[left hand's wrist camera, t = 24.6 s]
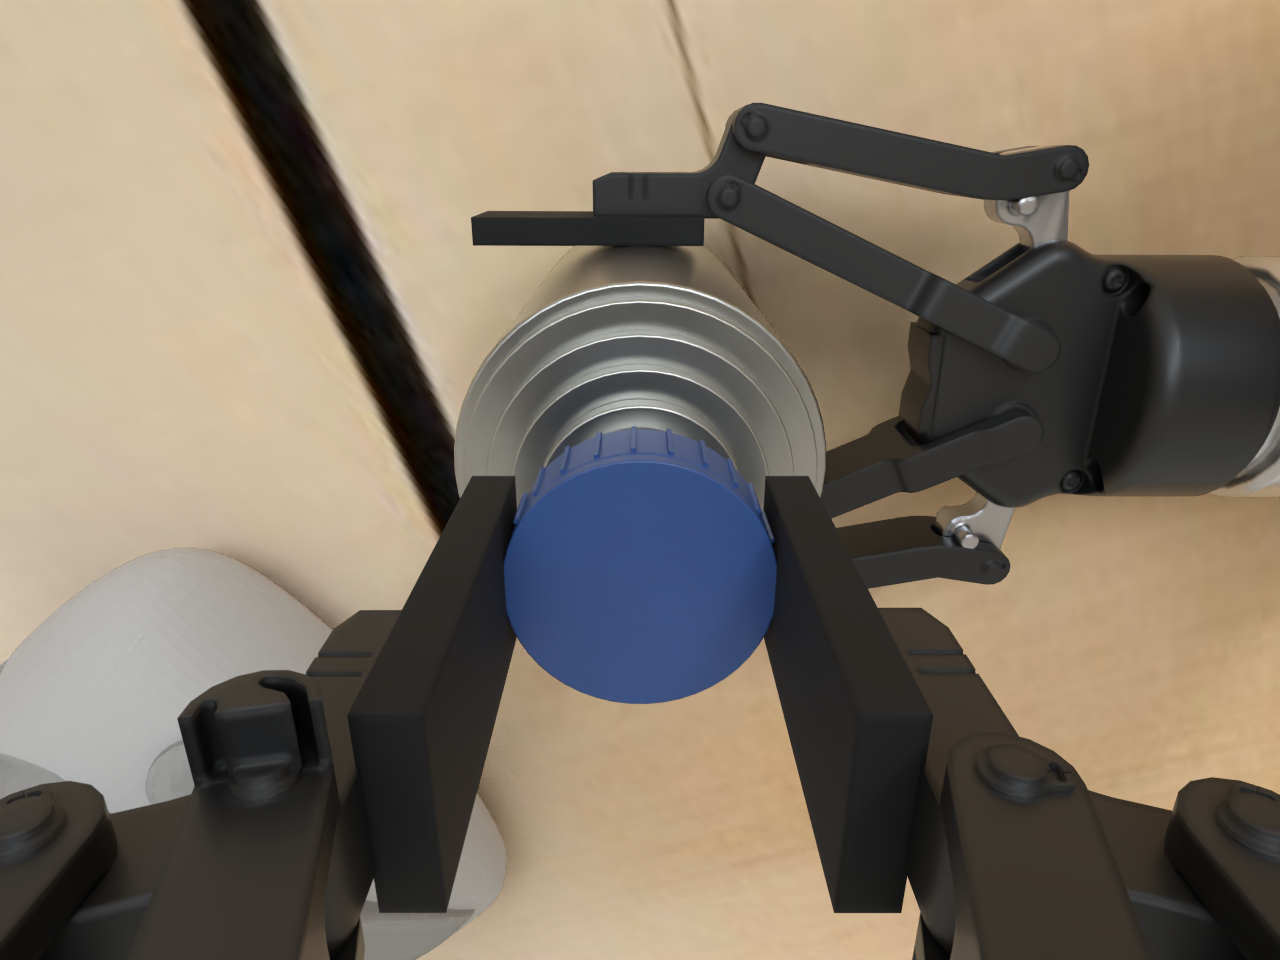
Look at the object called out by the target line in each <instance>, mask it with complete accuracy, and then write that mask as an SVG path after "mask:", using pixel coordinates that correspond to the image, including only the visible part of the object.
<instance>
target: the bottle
mask: <svg viewBox="0 0 1280 960" xmlns="http://www.w3.org/2000/svg"><path fill="white" fill-rule="evenodd" d="M631 426H636V429H651V430H658V431H665V432H666V430H667V428H668V429H672V433H675V434H678V435H682V436H685V437H688V438H690V439H692V440H695V441H697V442H699V441H700V439H701V440H703V441H705V446H707V447H709V448H710V449H712V450H714V451H715V452H717V453H718V454H719V455H721V456H722V457H723V458H724V459H726V460H727V459H728V458H730V459H731V460H732V461H733V465H734V468H735V469H736V470H737V471H738V472H739V473H740V474H741V475H742V477H743V478H744V479H745V481H746V482H747V483H748V484H749V483H750V482H751V483H752V485H753V487H754V490H755V493H756V496H757V499H758V502H759V505H760V507H761V510H762V511H763V507H764V491H765V476H809V478H810V480H811V482H812V483H813V485H814V487H815V489H816V491H817V493H818V495H819V497H821V493H822V489H823V483H824V476H825V470H826V442H825V434H824V426H823V421H822V417H821V414H820V410H819V406H818V403H817V399H816V397H815V395H814V393H813V390H812V388H811V386H810V383H809V381H808V379H807V377H806V375H805V374H804V372H803V371H802V369H801V367H800V366H799V364H798V362H797V361H796V359H795V358H794V356H793V355H792V354H791V352H790V351H789V350H788V348H787V347H786V346H785V344H784V343H783V342H782V341H781V339H780V338H779V337H778V335H777V334H776V333H775V331H774V330H773V329H772V327H771V326H770V325H769V323H768V322H767V321H766V319H765V318H764V317H763V316H762V314H761V313H760V312H759V310H758V309H757V308H756V306H755V305H754V304H753V302H752V301H751V300H750V298H749V297H748V296H747V295H746V293H745V292H744V291H743V289H742V288H741V287H740V285H739V284H738V283H737V281H736V280H735V279H734V277H733V276H732V275H731V273H730V272H729V271H728V270H727V268H726V267H725V266H724V265H723V263H722V262H721V261H720V260H719V259H718V257H717V256H716V255H715V254H714V253H712V252H711V251H710V250H709V249H708V248H707V247H706V246H704V245H703V246H574V247H573V248H572V249H571V250H570V251H569V252H568V253H567V254H566V255H564V256H563V257H562V258H561V260H560V261H559V262H558V263H557V265H556V266H555V267H554V268H553V270H552V271H551V272H550V274H549V275H548V276H547V278H546V279H545V280H544V282H543V283H542V284H541V286H540V287H539V288H538V290H537V291H536V292H535V294H534V295H533V296H532V298H531V299H530V300H529V301H528V303H527V304H526V305H525V307H524V308H523V309H522V311H521V312H520V313H519V315H518V316H517V317H516V319H515V320H514V321H513V323H512V324H511V325H510V327H509V328H508V329H507V331H506V332H505V333H504V335H503V336H502V337H501V338H500V340H499V341H498V342H497V344H496V345H495V346H494V348H493V349H492V350H491V352H490V353H489V354H488V356H487V357H486V358H485V360H484V361H483V363H482V365H481V366H480V368H479V370H478V371H477V373H476V375H475V376H474V378H473V380H472V382H471V384H470V386H469V389H468V391H467V394H466V396H465V398H464V401H463V404H462V407H461V411H460V415H459V419H458V423H457V428H456V437H455V446H454V456H455V474H456V480H457V486H458V492H459V496H460V498H461V496H462V494H463V492H464V490H465V488H466V486H467V485H468V483H469V481H470V479H471V477H472V476H515V482H516V498H517V509H518V506H519V503H520V500H521V497H522V495H523V493H524V492H525V493H528V491H529V490H530V488H531V486H532V484H533V483H534V481H535V480H536V479H537V477H538V474H539V470H540V468H541V467H542V466H543V467H545V468H546V467H547V466H548V465H549V464H550V463H552V462H553V461H554V460H555V459H556V458H557V457H559V456H560V455H561V454H563V453H564V451H565V447H567V446H570V447H571V448H572V447H574V446H576V445H578V444H579V443H581V442H583V441H585V440H588V439H591V438H593V437H596V434H597V432H602V434H607V433H611V432H615V431H622V430H630V429H631Z"/></svg>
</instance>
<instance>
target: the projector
mask: <svg viewBox="0 0 1280 960" xmlns="http://www.w3.org/2000/svg"><path fill="white" fill-rule="evenodd" d="M332 631H333V630H332V629H331V628H330V627H328V626H327V625H326V624H325V623H324V622H323V621H321V620H320V619H319V618H318V617H317V616H316V615H314V614H313V613H312V612H311V611H310V610H309V609H307V608H306V607H305V606H304V605H302V604H301V603H300V602H299V601H297V600H296V599H295V598H293V597H292V596H291V595H290V594H288V593H287V592H286V591H285V590H283V589H282V588H281V587H279V586H278V585H276V584H275V583H273V582H272V581H271V580H269V579H268V578H266V577H265V576H263V575H262V574H260V573H259V572H257V571H255V570H254V569H252V568H250V567H248V566H247V565H245V564H243V563H241V562H240V561H238V560H235V559H233V558H231V557H228V556H226V555H223V554H220V553H217V552H213V551H209V550H203V549H197V548H176V549H168V550H161V551H156V552H153V553H149V554H146V555H143V556H141V557H138V558H136V559H134V560H132V561H129V562H127V563H125V564H123V565H121V566H120V567H118V568H116V569H114V570H112V571H111V572H109V573H107V574H106V575H104V576H102V577H101V578H99V579H97V580H96V581H94V582H93V583H91V584H90V585H89V586H87V587H86V588H84V589H83V590H81V591H80V592H79V593H77V594H76V595H75V596H74V597H72V598H71V599H70V600H69V601H67V602H66V603H65V604H64V605H62V606H61V607H60V608H59V609H57V610H56V611H55V612H54V613H53V614H52V615H51V616H50V617H49V618H47V619H46V620H45V621H44V622H43V623H42V624H41V625H40V626H39V627H38V628H36V629H35V630H34V631H33V632H32V633H31V634H30V635H29V636H28V637H27V638H26V639H25V640H24V641H23V642H22V643H21V644H20V645H19V646H18V647H17V648H16V650H15V651H14V652H13V654H12V655H11V656H10V658H9V659H8V660H6V661H5V662H3V663H2V664H1V665H0V799H2V798H4V797H6V796H8V795H10V794H12V793H15V792H18V791H21V790H25V789H28V788H31V787H34V786H37V785H40V784H47V783H55V782H64V781H74V782H79V783H85V784H90V785H92V786H93V787H94V788H96V789H97V790H98V791H99V792H100V793H101V794H102V795H103V796H104V799H105V802H106V805H107V809H108V812H109V814H112V813H116V812H121V811H125V810H130V809H134V808H139V807H143V806H148V805H152V804H156V803H161V802H165V801H170V800H173V799H176V798H180V797H183V796H186V795H190V794H192V791H193V789H194V782H193V778H192V774H191V770H190V766H189V762H188V758H187V755H186V751H185V747H184V743H183V739H182V735H181V731H180V728H179V724H178V720H177V718H178V717H179V715H180V714H181V713H182V712H183V710H184V709H185V708H186V707H187V705H188V704H189V703H190V702H191V701H192V700H193V699H195V698H196V697H198V696H199V695H201V694H202V693H204V692H205V691H206V690H208V689H209V688H211V687H213V686H215V685H217V684H220V683H222V682H225V681H227V680H229V679H232V678H234V677H236V676H240V675H245V674H249V673H254V672H258V671H263V670H291V671H294V672H298V673H302V674H306V671H307V669H308V668H309V666H310V665H311V663H312V661H313V660H314V658H315V657H318V652H319V651H320V649H321V648H322V646H323V644H324V643H325V641H326V640H327V638H328V637H329V635H330V634H331V632H332ZM506 866H507V854H506V847H505V844H504V841H503V838H502V836H501V834H500V832H499V830H498V827H497V825H496V823H495V821H494V820H493V818H492V816H491V815H490V813H489V811H488V809H487V808H486V806H485V804H484V803H483V801H482V800H481V798H480V797H479V795H478V793H477V795H476V798H475V802H474V806H473V810H472V814H471V818H470V822H469V826H468V830H467V834H466V838H465V842H464V846H463V849H462V853H461V857H460V861H459V865H458V869H457V873H456V877H455V881H454V885H453V889H452V893H451V896H450V900H449V904H448V908H447V912H446V913H379V908H378V901H377V895H376V889H375V883H374V879H373V882H372V884H371V887H370V890H369V892H368V895H367V898H366V901H365V903H364V906H363V909H362V911H361V914H360V918H361V924H362V929H363V936H364V943H365V954H364V960H415V959H417V958H419V957H421V956H422V955H424V954H426V953H428V952H429V951H431V950H432V949H434V948H435V947H437V946H438V945H440V944H441V943H443V942H444V941H445V940H446V939H448V938H449V937H450V936H451V935H453V934H454V933H455V932H457V931H458V930H460V929H461V928H463V927H464V926H465V925H467V924H468V923H469V922H471V921H472V920H473V919H475V918H476V917H477V916H479V915H480V914H481V913H482V912H483V911H484V910H486V909H487V908H488V907H489V906H490V905H491V904H492V903H493V902H494V900H495V899H496V898H497V896H498V895H499V893H500V892H501V889H502V887H503V883H504V879H505V874H506Z"/></svg>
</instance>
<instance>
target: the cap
mask: <svg viewBox="0 0 1280 960" xmlns="http://www.w3.org/2000/svg"><path fill="white" fill-rule="evenodd" d="M513 523H514V524H515V526H514V529H513V532H512V535H511V538H510V541H509V544H508V547H507V551H506V555H505V559H504V581H505V595H506V608H507V616H508V618H509V621H510V624H511V626H512V628H513V630H514V632H515V634H516V636H517V638H518V640H519V641H520V643H521V644H522V645H523V647H524V648H525V650H526V651H527V652H528V654H529V655H530V656H531V657H532V658H533V659H534V660H535V661H536V662H537V663H538V665H539V666H541V667H542V668H543V669H544V670H545V671H547V672H548V673H549V674H550V675H551V676H553V677H555V678H556V679H558V680H559V681H561V682H562V683H564V684H565V685H567V686H569V687H571V688H573V689H575V690H577V691H579V692H582V693H585V694H587V695H590V696H593V697H596V698H600V699H604V700H608V701H613V702H620V703H629V704H650V703H661V702H667V701H672V700H677V699H681V698H684V697H687V696H690V695H694V694H696V693H699V692H701V691H703V690H705V689H707V688H710V687H712V686H713V685H715V684H717V683H718V682H720V681H722V680H723V679H725V678H726V677H728V676H729V675H730V674H731V673H733V672H734V671H735V670H737V669H738V668H739V667H740V666H741V665H742V664H743V663H744V662H745V661H746V660H747V659H748V658H749V657H750V656H751V654H752V653H753V652H754V650H755V649H756V648H757V647H758V645H759V644H760V642H761V640H762V639H763V637H764V635H765V633H766V632H767V630H768V628H769V625H770V623H771V620H772V618H773V615H774V603H775V589H776V574H777V561H776V556H775V551H774V548H773V545H772V543H774V537H773V534H772V531H771V528H770V525H769V522H768V519H767V516H766V514H765V511H762V510H761V507H760V505H759V502H758V499H757V496H756V493H755V490H754V487H753V485H752V483H751V482H750V483H749V484H748V483H747V482H746V481H745V479H744V478H743V477H742V475H741V474H740V473H739V472H738V471H737V470H736V469H735V468H734V465H733V461H732V460H731V459H730V458H728V459H727V460H726V459H724V458H723V457H722V456H721V455H719V454H718V453H717V452H715V451H714V450H712V449H710V448H709V447H707V446H705V441H703V440H701V439H700V441H699V442H697V441H695V440H692V439H690V438H688V437H685V436H682V435H678V434H675V433H672V429H668V428H667V430H666V432H665V431H658V430H651V429H636V426H631V429H630V430H622V431H615V432H611V433H607V434H602V432H597V434H596V437H593V438H591V439H588V440H585V441H583V442H581V443H579V444H578V445H576V446H574V447H572V448H571V447H570V446H567V447H565V451H564V453H563V454H561V455H560V456H559V457H557V458H556V459H555V460H554V461H553V462H552V463H550V464H549V465H548V466H547V467H546V468H545V467H543V466H542V467H541V468H540V470H539V474H538V477H537V479H536V480H535V481H534V483H533V484H532V486H531V488H530V490H529V491H528V493H525V492H524V493H523V495H522V497H521V500H520V503H519V506H518V509H517V512H516V515H515V517H514V520H513Z"/></svg>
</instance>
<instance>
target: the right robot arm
mask: <svg viewBox="0 0 1280 960" xmlns="http://www.w3.org/2000/svg"><path fill="white" fill-rule="evenodd" d="M765 156H767V157H772V158H776V159H781V160H786V161H791V162H795V163H800V164H805V165H809V166H814V167H819V168H824V169H828V170H833V171H838V172H843V173H847V174H852V175H857V176H861V177H866V178H871V179H876V180H880V181H885V182H890V183H894V184H899V185H904V186H909V187H913V188H918V189H923V190H928V191H932V192H937V193H942V194H948V195H955V196H962V197H970V198H977V199H984V208H985V212H986V214H987V216H988V217H989V218H990V219H991V220H992V221H995V222H997V223H1003V224H1008V225H1011V226H1013V227H1014V228H1015V229H1016V230H1017V232H1018V234H1019V237H1020V243H1018V244H1016V245H1015V246H1013V247H1012V248H1010V249H1009V250H1007V251H1006V252H1004V253H1003V254H1001V255H1000V256H998V257H997V258H995V259H994V260H992V261H991V262H989V263H988V264H986V265H985V266H983V267H982V268H980V269H979V270H977V271H976V272H974V273H973V274H971V275H970V276H968V277H967V278H965V279H964V280H962V281H961V282H959V283H958V284H956V285H955V284H953V283H951V282H949V281H947V280H945V279H943V278H941V277H939V276H937V275H935V274H932V273H930V272H928V271H926V270H924V269H922V268H920V267H918V266H916V265H914V264H912V263H910V262H908V261H906V260H904V259H902V258H900V257H898V256H896V255H894V254H892V253H890V252H888V251H886V250H884V249H882V248H880V247H878V246H876V245H874V244H872V243H870V242H868V241H866V240H864V239H862V238H861V237H859V236H857V235H855V234H853V233H851V232H849V231H847V230H845V229H843V228H841V227H839V226H837V225H835V224H833V223H831V222H829V221H827V220H825V219H823V218H821V217H819V216H817V215H815V214H813V213H811V212H809V211H807V210H805V209H803V208H801V207H799V206H797V205H795V204H793V203H791V202H789V201H787V200H785V199H783V198H781V197H779V196H777V195H775V194H773V193H771V192H769V191H767V190H765V189H763V188H761V187H759V186H757V185H755V181H756V179H757V176H758V174H759V171H760V169H761V166H762V164H763V161H764V159H765ZM1088 167H1089V162H1088V156H1087V155H1086V153H1085V152H1084V150H1083V149H1081V148H1079V147H1077V146H1070V145H1062V146H1027V147H1021V148H1015V149H1009V150H1003V151H997V152H986V151H981V150H977V149H972V148H967V147H963V146H958V145H953V144H949V143H944V142H940V141H935V140H930V139H926V138H921V137H916V136H912V135H907V134H903V133H898V132H893V131H889V130H884V129H880V128H875V127H870V126H866V125H861V124H856V123H852V122H847V121H843V120H838V119H833V118H829V117H824V116H819V115H815V114H810V113H806V112H801V111H796V110H792V109H787V108H783V107H778V106H773V105H769V104H764V103H752V104H749V105H746V106H744V107H742V108H740V109H738V110H736V111H734V112H733V113H732V115H731V116H730V117H729V118H728V121H727V123H726V128H725V131H724V134H723V137H722V139H721V142H720V145H719V147H718V150H717V153H716V155H715V157H714V159H713V160H712V162H711V163H710V164H709V165H708V166H707V167H705V168H704V169H702V170H700V171H697V172H611V173H609V174H607V175H604V176H602V177H599V178H597V179H595V180H593V212H575V211H487V212H484V213H482V214H479V215H476V216H474V217H471V223H472V237H473V245H520V246H703V244H704V218H720V219H722V220H724V221H727V222H729V223H731V224H733V225H735V226H737V227H739V228H741V229H743V230H745V231H747V232H749V233H751V234H753V235H755V236H757V237H759V238H761V239H763V240H765V241H767V242H769V243H771V244H773V245H775V246H777V247H779V248H782V249H784V250H786V251H788V252H790V253H792V254H794V255H796V256H798V257H800V258H802V259H804V260H806V261H808V262H810V263H812V264H814V265H816V266H818V267H820V268H822V269H824V270H826V271H828V272H830V273H832V274H834V275H837V276H839V277H841V278H843V279H845V280H847V281H849V282H851V283H853V284H855V285H857V286H859V287H861V288H863V289H865V290H867V291H869V292H871V293H873V294H875V295H877V296H879V297H881V298H883V299H885V300H887V301H889V302H892V303H894V304H896V305H898V306H900V307H902V308H904V309H906V310H908V311H910V312H912V313H913V314H915V315H917V316H919V319H918V321H917V322H911V324H910V332H909V340H908V350H909V357H910V364H911V371H910V374H909V376H908V379H907V381H906V384H905V386H904V389H903V391H902V395H901V403H900V411H899V415H900V416H897V417H895V418H892V419H890V420H888V421H885V422H883V423H880V424H878V425H876V426H875V427H874V428H872V430H871V431H870V433H869V434H867V435H866V436H864V437H861V438H859V439H856V440H854V441H851V442H849V443H847V444H844V445H842V446H839V447H837V448H834V449H832V450H830V451H827V452H826V470H825V476H824V483H823V489H822V493H821V497H820V499H821V501H822V503H823V505H824V506H825V508H826V510H827V512H828V514H829V516H830V518H834V517H836V516H839V515H841V514H844V513H846V512H849V511H851V510H854V509H856V508H859V507H861V506H864V505H867V504H869V503H872V502H874V501H877V500H879V499H882V498H884V497H887V496H889V495H892V494H894V493H897V492H908V493H913V492H919V491H922V490H925V489H927V488H930V487H932V486H935V485H937V484H940V483H942V482H945V481H947V480H950V479H952V478H955V477H958V478H959V479H961V480H962V481H963V482H965V483H966V484H967V485H969V486H970V487H971V488H973V489H974V490H975V491H977V492H976V494H975V496H974V497H973V498H972V499H971V500H970V501H969V502H967V503H966V504H963V505H959V506H943V507H941V508H940V509H939V510H938V512H937V517H932V516H909V517H900V518H894V519H888V520H882V521H876V522H870V523H864V524H858V525H852V526H846V527H840V528H836V529H837V531H838V533H839V535H840V537H841V539H842V541H843V543H844V545H845V547H846V549H847V551H848V552H849V554H850V556H851V558H852V560H853V562H854V564H855V566H856V568H857V570H858V572H859V573H860V575H861V577H862V579H863V581H864V583H865V585H866V587H867V589H868V588H875V587H881V586H887V585H893V584H899V583H905V582H912V581H918V580H924V579H930V578H936V577H940V578H947V579H953V580H960V581H967V582H973V583H980V584H995V583H998V582H1000V581H1001V580H1003V579H1004V578H1005V577H1006V576H1007V574H1008V573H1009V570H1010V563H1009V559H1008V558H1007V557H1006V556H1005V555H1004V554H1003V553H1002V552H1001V551H1000V548H1001V545H1002V542H1003V539H1004V536H1005V534H1006V531H1007V528H1008V526H1009V523H1010V520H1011V517H1012V515H1013V512H1014V509H1015V508H1016V507H1022V506H1025V505H1028V504H1030V503H1032V502H1034V501H1036V500H1038V499H1041V498H1043V497H1046V496H1050V495H1054V494H1076V495H1088V496H1199V495H1203V494H1207V493H1209V494H1213V495H1217V496H1221V497H1280V256H1241V257H1238V258H1234V259H1229V258H1226V257H1222V256H1214V255H1093V254H1090V253H1088V252H1086V251H1084V250H1083V249H1081V248H1080V247H1079V246H1077V245H1075V244H1073V243H1071V242H1068V241H1067V234H1068V207H1069V190H1072V189H1074V188H1076V187H1077V186H1078V185H1079V184H1080V183H1082V181H1083V180H1084V178H1085V176H1086V175H1087V172H1088Z"/></svg>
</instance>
